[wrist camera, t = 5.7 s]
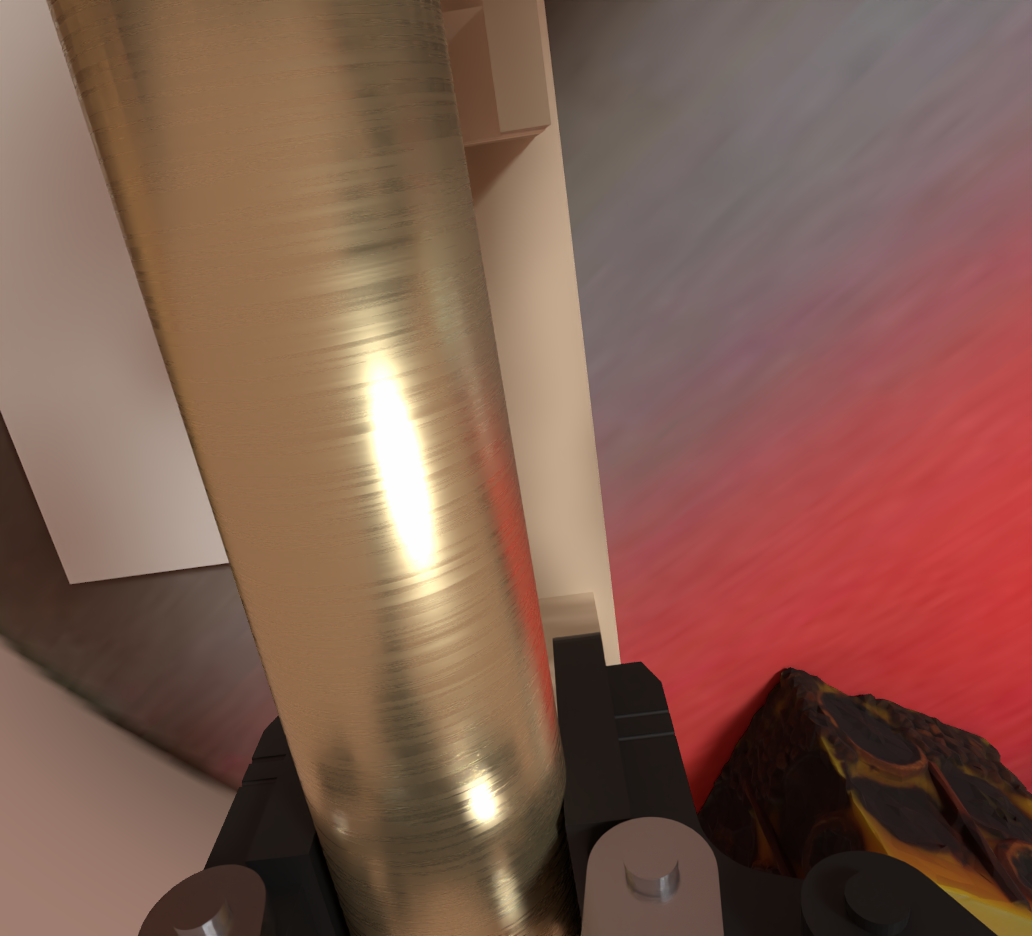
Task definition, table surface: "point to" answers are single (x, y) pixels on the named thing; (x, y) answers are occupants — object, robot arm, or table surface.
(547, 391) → the rail stand
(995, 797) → the yellow cube with hole
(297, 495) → the brass rail
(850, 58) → the table surface
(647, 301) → the table surface
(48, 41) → the grey mat
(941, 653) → the table surface
